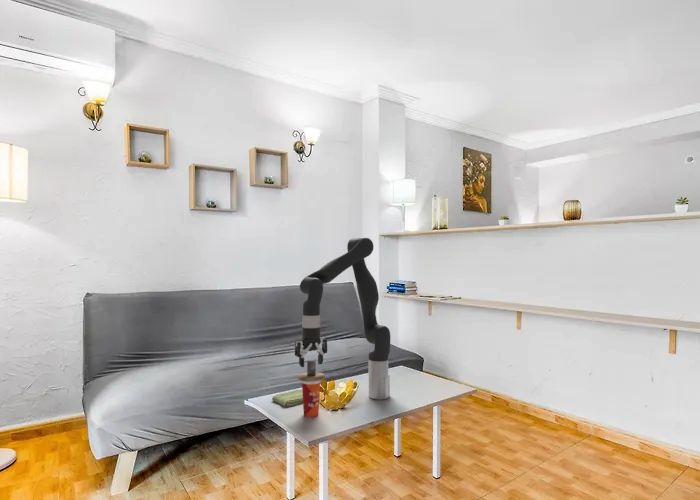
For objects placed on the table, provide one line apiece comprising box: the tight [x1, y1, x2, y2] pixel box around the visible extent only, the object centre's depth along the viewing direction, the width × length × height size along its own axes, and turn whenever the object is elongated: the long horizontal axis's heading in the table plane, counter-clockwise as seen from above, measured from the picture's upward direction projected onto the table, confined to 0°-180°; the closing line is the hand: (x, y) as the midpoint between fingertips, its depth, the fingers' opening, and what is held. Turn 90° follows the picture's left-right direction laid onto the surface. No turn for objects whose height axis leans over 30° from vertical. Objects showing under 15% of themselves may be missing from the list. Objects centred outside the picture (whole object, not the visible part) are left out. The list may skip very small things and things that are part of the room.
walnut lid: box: [297, 359, 326, 382], centre depth 172 cm, size 11×11×7 cm
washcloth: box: [271, 389, 303, 408], centre depth 190 cm, size 13×18×3 cm
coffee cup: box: [300, 380, 322, 418], centre depth 172 cm, size 8×8×15 cm
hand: (311, 365), depth 172 cm, fingers open, 8 cm apart
